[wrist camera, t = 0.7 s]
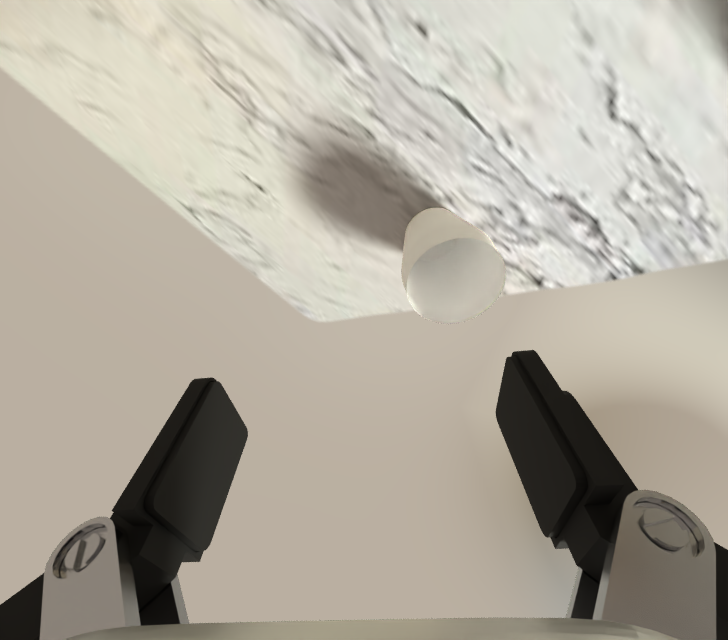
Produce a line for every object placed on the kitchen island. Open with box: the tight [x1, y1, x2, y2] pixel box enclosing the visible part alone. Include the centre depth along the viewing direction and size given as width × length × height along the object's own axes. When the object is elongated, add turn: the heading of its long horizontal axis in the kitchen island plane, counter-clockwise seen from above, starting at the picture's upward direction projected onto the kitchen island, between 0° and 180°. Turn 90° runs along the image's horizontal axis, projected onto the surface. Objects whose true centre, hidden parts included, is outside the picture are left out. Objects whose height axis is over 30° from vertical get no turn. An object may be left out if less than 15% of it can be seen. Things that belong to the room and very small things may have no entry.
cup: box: [401, 208, 506, 324], centre depth 32 cm, size 9×9×12 cm
